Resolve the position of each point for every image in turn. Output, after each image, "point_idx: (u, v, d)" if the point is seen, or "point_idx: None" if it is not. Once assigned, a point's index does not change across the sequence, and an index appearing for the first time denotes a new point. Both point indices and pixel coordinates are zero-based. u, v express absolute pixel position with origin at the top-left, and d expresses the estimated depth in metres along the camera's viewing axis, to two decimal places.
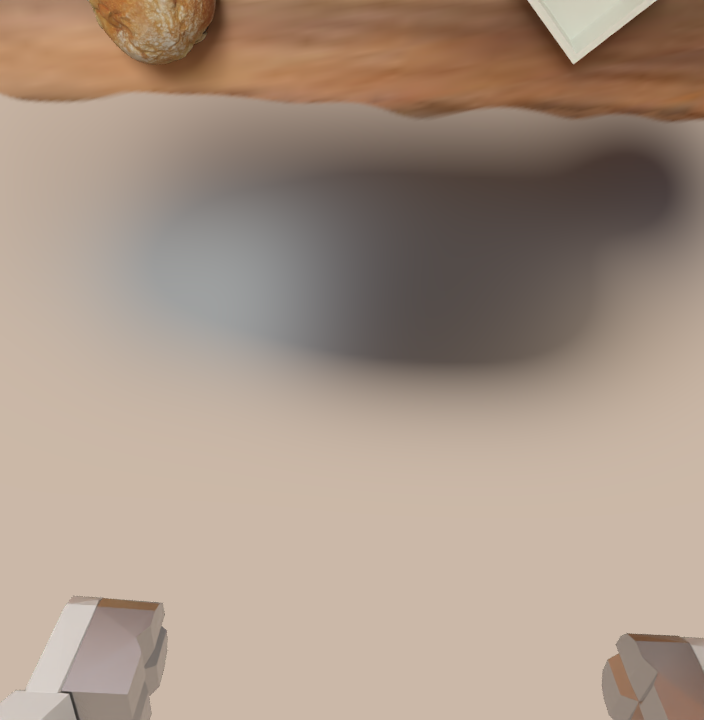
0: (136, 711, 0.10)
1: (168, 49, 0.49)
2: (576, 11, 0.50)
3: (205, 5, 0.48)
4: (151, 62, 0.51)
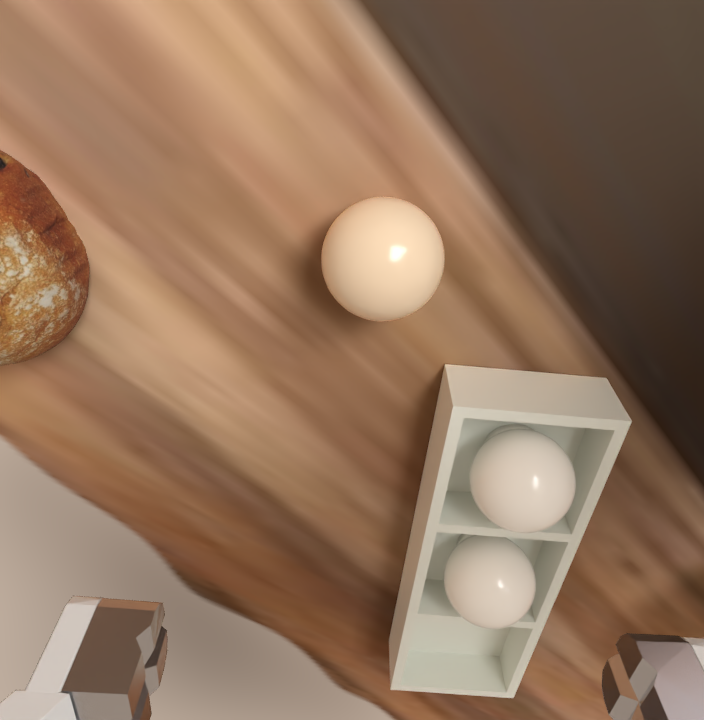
0: (136, 711, 0.10)
1: None
2: (424, 636, 0.41)
3: (38, 351, 0.27)
4: None
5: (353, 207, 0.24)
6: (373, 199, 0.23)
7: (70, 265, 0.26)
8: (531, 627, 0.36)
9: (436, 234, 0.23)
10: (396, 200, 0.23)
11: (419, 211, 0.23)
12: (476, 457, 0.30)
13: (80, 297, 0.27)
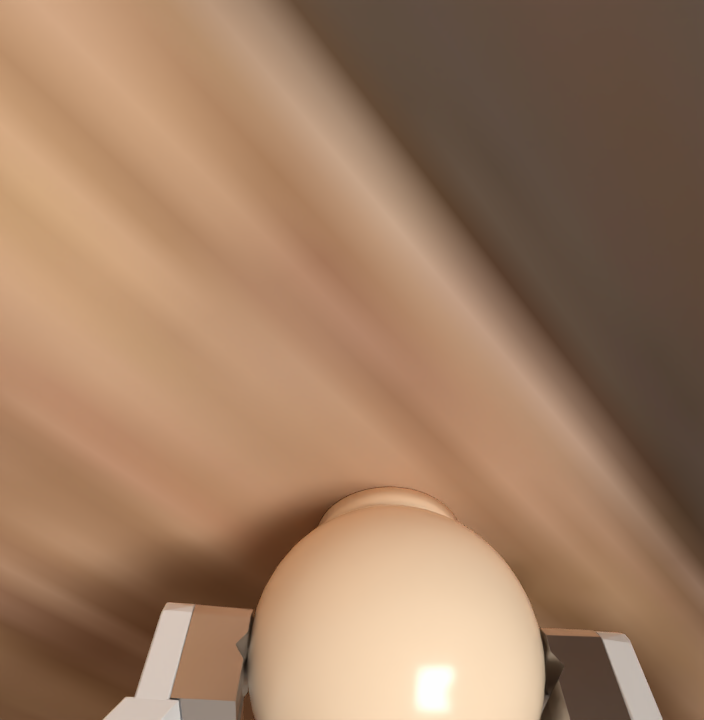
0: None
1: None
2: None
3: None
4: None
5: (322, 569, 0.09)
6: (372, 549, 0.09)
7: None
8: None
9: (531, 638, 0.09)
10: (430, 555, 0.09)
11: (489, 581, 0.09)
12: None
13: None
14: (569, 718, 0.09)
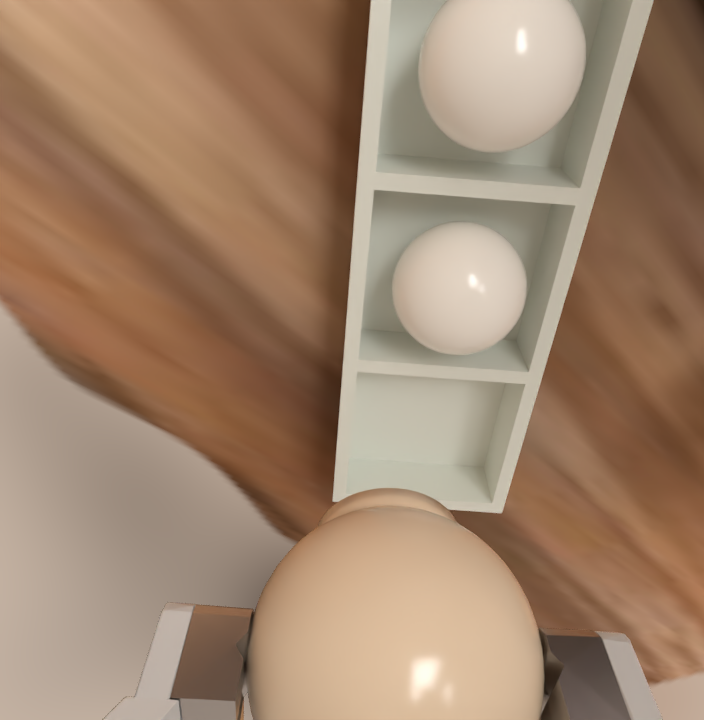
0: None
1: None
2: (380, 434, 0.30)
3: None
4: None
5: (320, 570, 0.09)
6: (371, 551, 0.09)
7: None
8: (523, 381, 0.25)
9: (530, 639, 0.09)
10: (429, 556, 0.09)
11: (487, 582, 0.09)
12: (427, 30, 0.19)
13: None
14: (568, 718, 0.09)
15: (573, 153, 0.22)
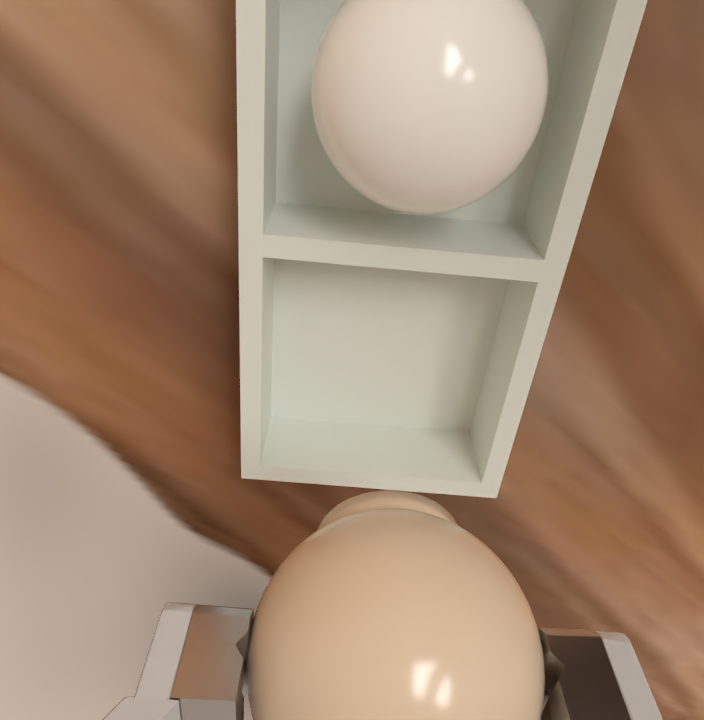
0: None
1: None
2: (317, 380, 0.20)
3: None
4: None
5: (321, 573, 0.09)
6: (372, 553, 0.09)
7: None
8: (534, 277, 0.15)
9: (531, 642, 0.09)
10: (430, 559, 0.09)
11: (488, 585, 0.09)
12: None
13: None
14: (568, 718, 0.09)
15: None
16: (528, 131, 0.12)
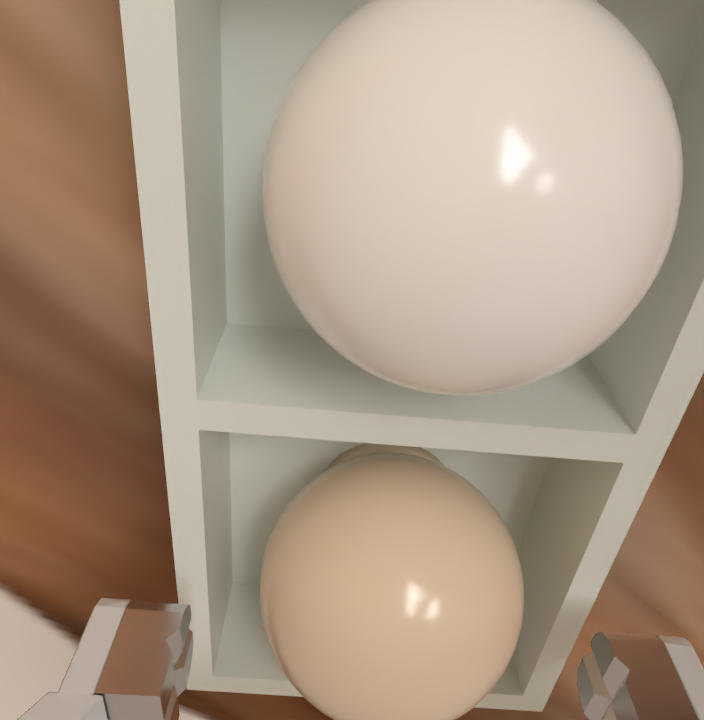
0: (166, 713, 0.10)
1: None
2: None
3: None
4: None
5: (326, 502, 0.11)
6: (370, 484, 0.11)
7: None
8: (619, 456, 0.10)
9: (511, 562, 0.11)
10: (422, 488, 0.10)
11: (473, 512, 0.11)
12: None
13: None
14: None
15: None
16: (651, 281, 0.07)
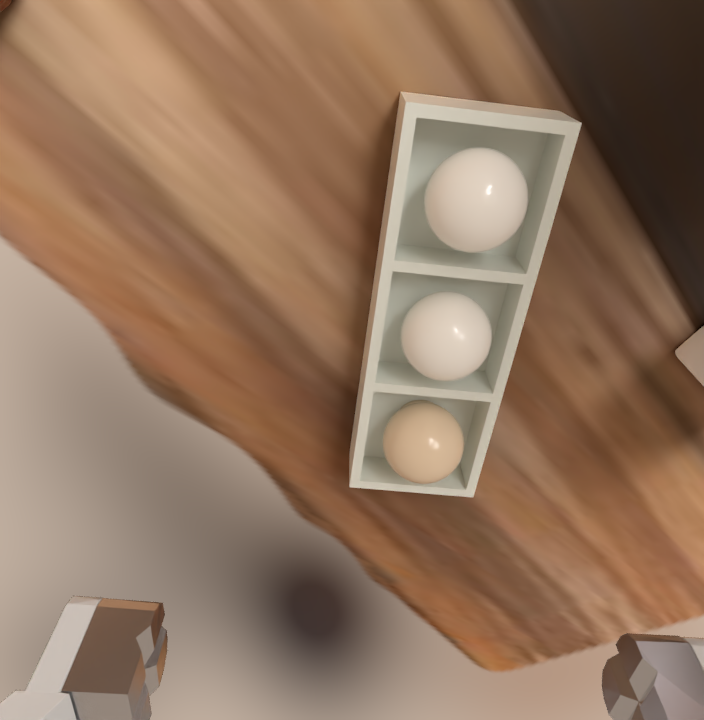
0: (136, 711, 0.10)
1: None
2: None
3: None
4: None
5: (406, 413, 0.36)
6: (419, 408, 0.36)
7: None
8: (489, 400, 0.36)
9: (459, 431, 0.36)
10: (434, 410, 0.36)
11: (449, 417, 0.36)
12: (430, 177, 0.30)
13: None
14: None
15: (523, 249, 0.33)
16: (484, 357, 0.33)
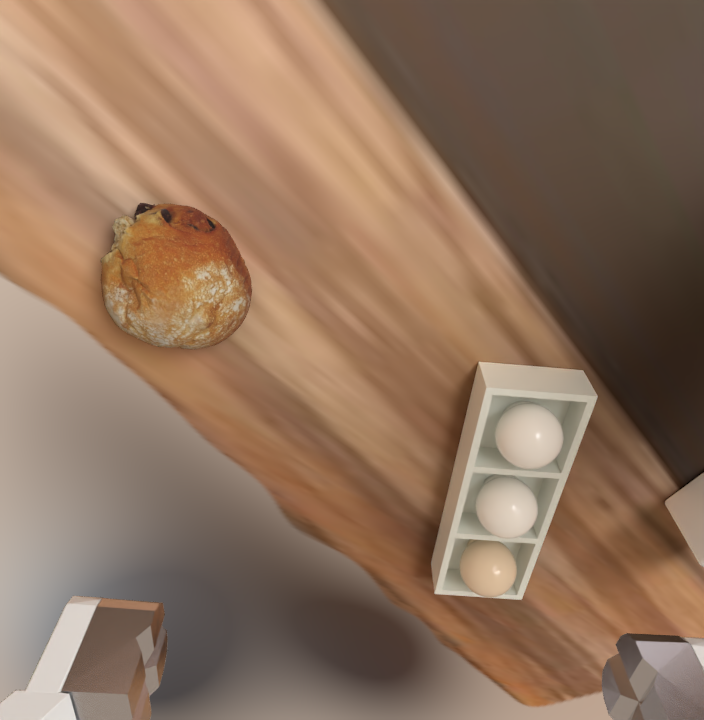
0: (136, 711, 0.10)
1: (155, 342, 0.40)
2: (457, 557, 0.57)
3: (223, 339, 0.42)
4: (123, 329, 0.41)
5: (477, 550, 0.53)
6: (486, 547, 0.53)
7: (246, 285, 0.41)
8: (534, 542, 0.52)
9: (514, 562, 0.53)
10: (496, 548, 0.53)
11: (506, 552, 0.53)
12: (499, 421, 0.46)
13: (249, 305, 0.42)
14: None
15: None
16: None
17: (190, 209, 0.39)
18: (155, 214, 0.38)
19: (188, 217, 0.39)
